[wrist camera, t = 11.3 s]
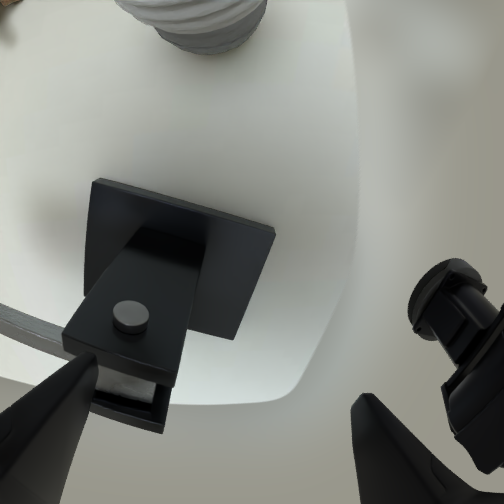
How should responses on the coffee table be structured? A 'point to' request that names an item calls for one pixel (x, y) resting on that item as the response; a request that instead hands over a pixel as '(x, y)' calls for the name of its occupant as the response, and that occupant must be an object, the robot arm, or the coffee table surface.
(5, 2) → the dinosaur figurine
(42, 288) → the coffee table surface
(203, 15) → the light bulb
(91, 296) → the bracket
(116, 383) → the lever
